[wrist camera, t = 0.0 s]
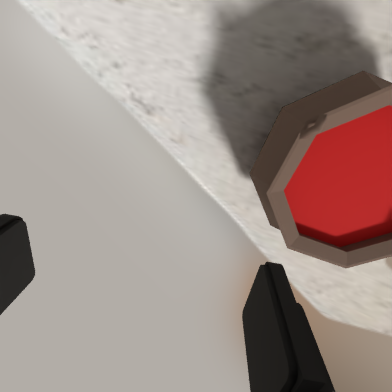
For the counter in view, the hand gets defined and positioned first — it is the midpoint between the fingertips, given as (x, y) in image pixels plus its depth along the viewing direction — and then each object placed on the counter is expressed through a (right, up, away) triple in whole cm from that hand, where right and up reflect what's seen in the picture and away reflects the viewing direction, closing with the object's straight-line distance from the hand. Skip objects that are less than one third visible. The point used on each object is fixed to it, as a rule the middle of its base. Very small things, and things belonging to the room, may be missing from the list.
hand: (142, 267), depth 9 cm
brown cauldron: (+22, +9, +29) cm, 37 cm away
